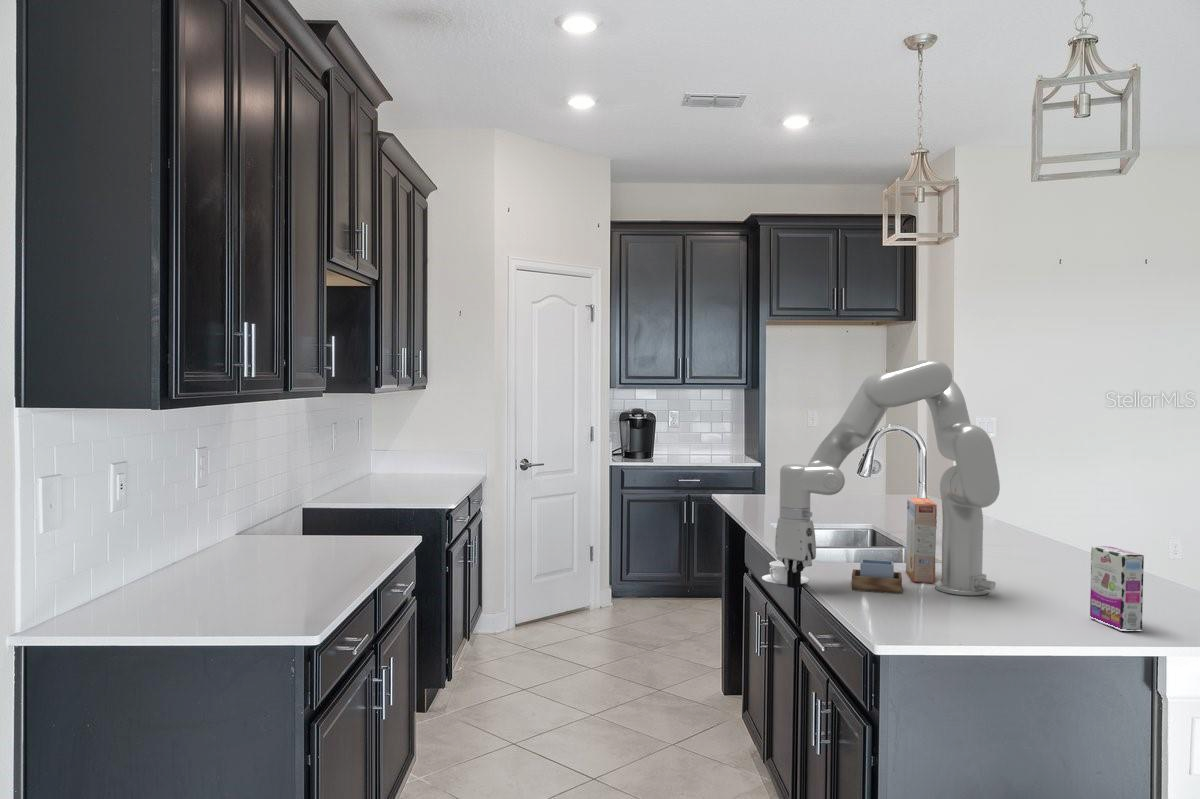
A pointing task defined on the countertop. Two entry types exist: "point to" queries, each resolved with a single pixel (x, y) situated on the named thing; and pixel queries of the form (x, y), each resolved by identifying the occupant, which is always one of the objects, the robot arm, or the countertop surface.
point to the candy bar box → (1117, 587)
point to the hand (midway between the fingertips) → (793, 586)
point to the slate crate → (876, 568)
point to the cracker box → (921, 540)
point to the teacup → (779, 574)
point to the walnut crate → (877, 583)
